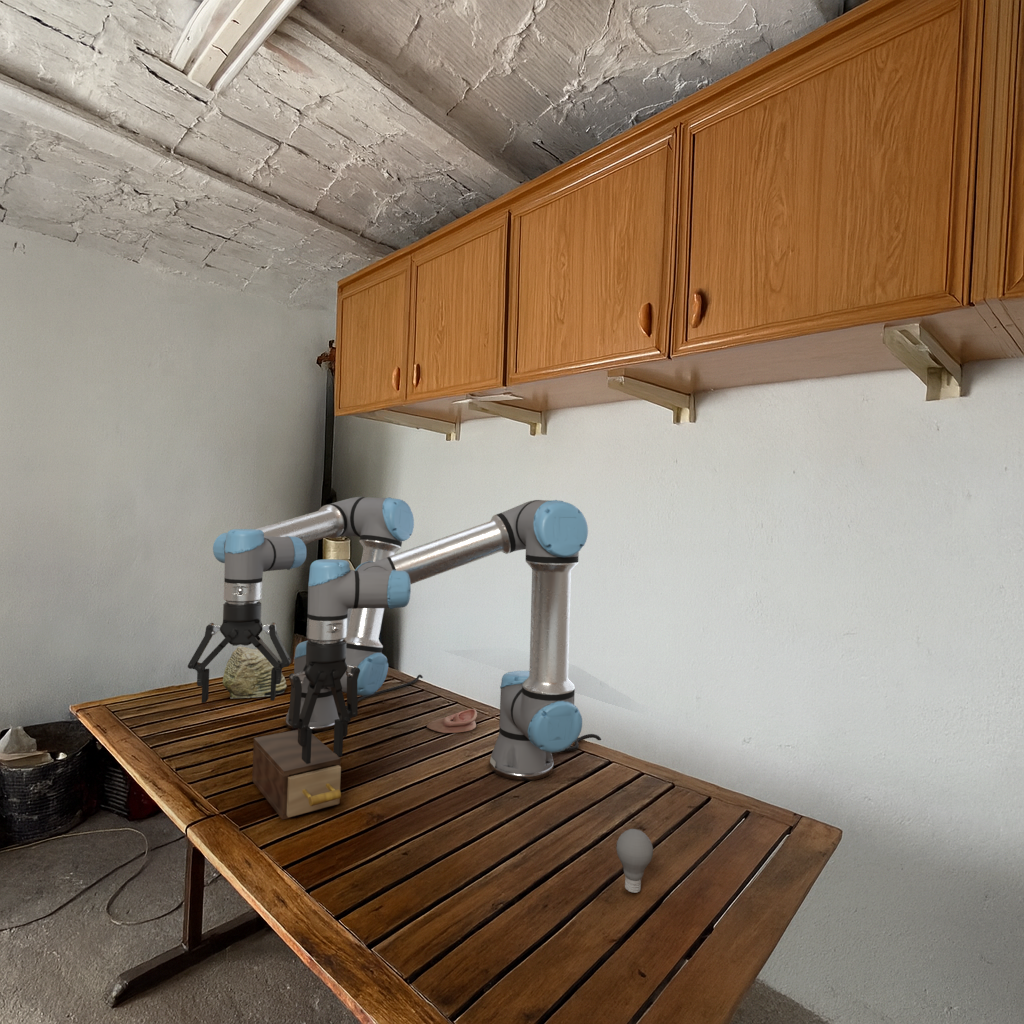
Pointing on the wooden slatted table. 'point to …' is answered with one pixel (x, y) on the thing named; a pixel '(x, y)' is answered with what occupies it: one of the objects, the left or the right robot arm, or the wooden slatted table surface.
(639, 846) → the light bulb
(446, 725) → the anatomical model
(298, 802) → the drawer
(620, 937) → the wooden slatted table surface
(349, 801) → the wooden slatted table surface
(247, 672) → the fossil
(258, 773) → the cabinet
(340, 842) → the wooden slatted table surface
